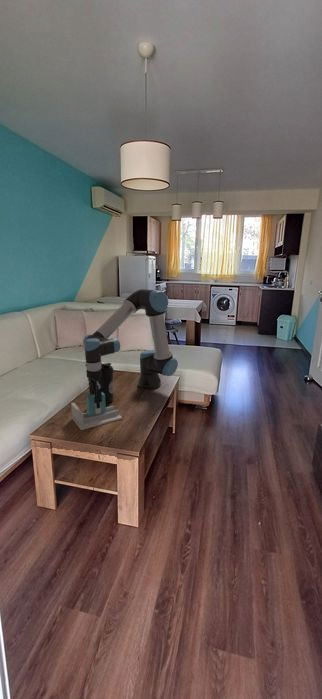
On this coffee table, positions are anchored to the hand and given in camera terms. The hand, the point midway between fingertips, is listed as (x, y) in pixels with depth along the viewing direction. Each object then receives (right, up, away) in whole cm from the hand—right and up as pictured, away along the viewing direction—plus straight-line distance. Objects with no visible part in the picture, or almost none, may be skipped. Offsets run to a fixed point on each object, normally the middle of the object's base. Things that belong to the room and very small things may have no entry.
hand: (96, 411), depth 171 cm
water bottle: (+1, +2, +23) cm, 23 cm away
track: (0, -4, +1) cm, 4 cm away
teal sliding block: (0, -1, 0) cm, 1 cm away
